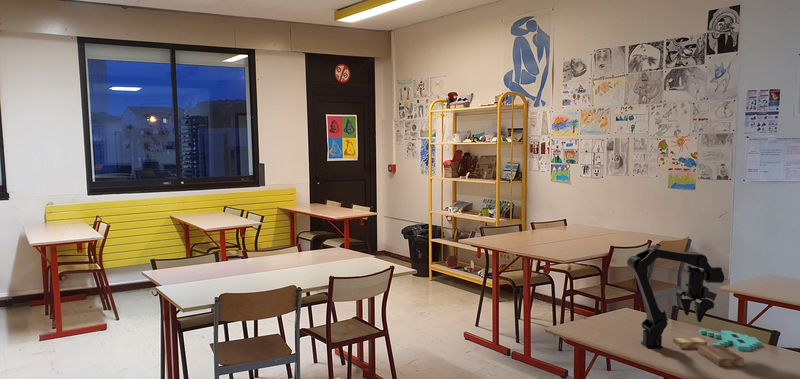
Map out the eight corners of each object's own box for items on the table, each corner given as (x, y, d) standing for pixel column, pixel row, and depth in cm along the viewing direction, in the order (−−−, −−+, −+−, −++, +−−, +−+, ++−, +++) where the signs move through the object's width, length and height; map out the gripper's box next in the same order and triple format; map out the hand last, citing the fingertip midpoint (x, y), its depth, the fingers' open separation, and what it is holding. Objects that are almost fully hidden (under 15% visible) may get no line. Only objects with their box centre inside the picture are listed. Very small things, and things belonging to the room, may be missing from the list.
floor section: (718, 366, 212) (719, 358, 211) (697, 352, 226) (698, 345, 225) (743, 366, 212) (744, 358, 212) (721, 352, 226) (721, 345, 226)
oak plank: (679, 349, 230) (679, 342, 230) (672, 345, 235) (673, 338, 235) (706, 348, 231) (707, 341, 231) (699, 344, 236) (699, 337, 236)
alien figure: (714, 349, 230) (768, 353, 226) (715, 344, 230) (768, 348, 226) (699, 333, 250) (747, 336, 246) (699, 329, 250) (748, 332, 246)
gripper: (728, 288, 222) (725, 326, 223) (701, 277, 241) (698, 312, 242) (701, 288, 222) (698, 325, 223) (676, 276, 240) (674, 311, 242)
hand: (692, 318), depth 232 cm, fingers open, 9 cm apart
